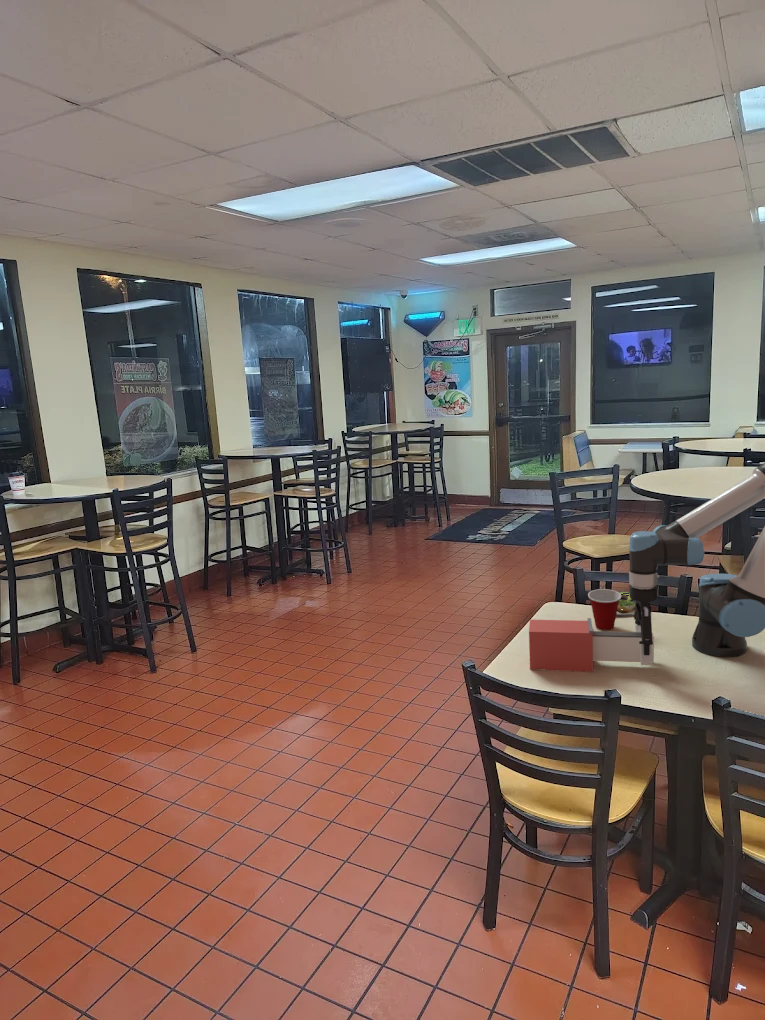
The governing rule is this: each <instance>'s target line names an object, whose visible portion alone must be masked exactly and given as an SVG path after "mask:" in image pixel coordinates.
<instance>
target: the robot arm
mask: <svg viewBox="0 0 765 1020" xmlns="http://www.w3.org/2000/svg"><path fill="white" fill-rule="evenodd" d="M764 499H765V462H764V463H762V464H760V465H759V466H757V467H755V468H754V469H753V471H752V474H751V475H749V476H748V477H746V478H744V479H743V480H741V481H739V482H737V483H736V484H734V485H733V486H731V487H729V488H728V489H726V490H724V491H723V492H721V493H719V494H718V495H716V496H714V497H713V498H711V499H709V500H708V501H706V502H704V503H703V504H701V505H699V506H698V507H696V508H694V509H693V510H691V511H690V512H689V513H687V514H685V515H683V516H681V517H680V518H678V519H676V520H675V521H672V522H671V523H670V524H662V525H659V526H657V527H655V528H654V529H653V530H652V531H646V530H643V531H642V530H640V531H639V530H638V531H635V532H632V534H630V537H629V546H628V547H629V548H628V550H629V573H628V580H629V581H628V582H629V589H628V590H629V591H628V592H629V596H630V598H631V599H632V600H635V601H636V603H635V616H633V619H634V624H635V625H634V627H635V628H634V632H641V638H642V641H639V644H641V662H640V666H652V663H651V645H652V644H653V641H652V633H653V627H652V606H651V602H654V601H657V599H658V587H657V585H658V578H660V576H661V575H660V574H658V573H659V572H658V570H659V566H687V565H688V566H692V565H699V564H701V563H702V562H703V561H704V557H705V547H704V544H703V541H702V540H701V538H700V537H702V536H703V535H705V534H706V533H708V532H710V531H712V530H713V529H714V528H717V527H718V526H720V525H721V524H723V523H725V522H727V521H729V520H730V519H732V518H734V517H735V516H737V515H738V514H740V513H741V512H744V511H745V510H747V509H749V508H750V507H752V506H755V504H757V503H759V502H761V501H762V500H764ZM698 587H699V588H698V589H699V591H698V595H699V597H698V599H699V600H698V622H697V624H696V627H695V630H694V632H693V635H692V639H691V642H692V643H691V645H692V648H694V649H695V650H696V651H698V652H700V653H703V654H706V655H710V656H714V657H715V656H716V657H730V658H732V657H738V656H742V655H743V654H745V653H746V652H747V650H748V642H747V639H746V638H751V637H753V636H756V635H759V634H760V633H762V632H763V631H764V630H765V526H764V527H763V529H762V531H761V533H760V534H759V536H758V538H757V540H756V541H755V544H754V546H753V548H752V549H751V551H750V554H749V555H748V557H747V559H746V560H745V563H744V564H743V567H742V569H741V570H740V572H739V573H738V575H737V574H732V573H708V574H704V575H702V576H701V577H700V578H699V584H698ZM646 639H647V640H646Z"/></svg>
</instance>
